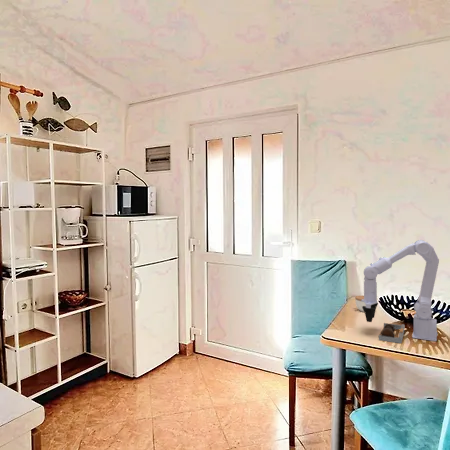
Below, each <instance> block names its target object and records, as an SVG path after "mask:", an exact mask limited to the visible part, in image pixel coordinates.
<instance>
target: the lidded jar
mask: <svg viewBox="0 0 450 450" xmlns="http://www.w3.org/2000/svg"><path fill="white" fill-rule="evenodd" d="M362 299H363V300H364V295H356V296H355V305H356V308H357V309H358V310H359V311H360V312H363V313H365V312H364V310H363V308H362V307H363V306H366V304H365V303H364V302H362V301H361V300H362Z"/></svg>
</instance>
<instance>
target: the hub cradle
mask: <svg viewBox="0 0 450 450" xmlns="http://www.w3.org/2000/svg"><path fill="white" fill-rule="evenodd" d="M386 324H390V323H386V322H384V323H383V328H384V327H385V325H386ZM391 324H392V325H393V326H394V328H395V330H398V329H400V330H399V331H398V337H397V336H396V337H395V336H394V337H391V336H384V335H381V334H378V341H383V342H389V343H395V344H396V343H397V344H403V343H402V342H403V338H404V334H405V330H404V329H405V324H403V323H402V324H395V323H391Z"/></svg>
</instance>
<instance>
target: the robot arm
mask: <svg viewBox="0 0 450 450" xmlns="http://www.w3.org/2000/svg"><path fill="white" fill-rule="evenodd" d="M434 248H435V247H433V246H432V245H431V244H430V243H429V242H428V241H425V240H423V239H420V240H419V239H418V240H416V241H415V242H412V243H410V244H408V245H405V246H404V247H403V248H401V249H400V250H398V251H396V252H395V253H393V254H392V255H390V256H388V257H385V256H384V257H379V258H378V259H377V260H376V261H375V262H374V263H370V264H369V265H368V266H366V267H365V268H364V270H363V276H364V278H363V296H364V300H363V299H362V300H361V301H362V302H364V303H365V304H366V306H363V307H362V308H363V310H364V312H363V313H364V315H365V320H366V322H367V323H372V321H373V319H374V318H375V315H376V310H377V307H378V305H379V303H378V288H377V287H378V286H377V285H378V284H377V283H378V282H377V276H378V275H382V274H383V273H384V272H386V271H389V270H390V269H392V267H393V264H395V263H396V262H398V261H399V260H401V259H403V258H405V257H407V256H409V255H410V256H416V253H417V254H418V255H420V256H421V257H422V258H423V260H424V261H425V267H424V272H423V277H422V281H421V286H420V291H419V296H418V297H417V301H416V302H415V303H414V305H413V310H414V311H415V313H414V315H413V332H412V337H411V338H412V339H418V340H425V341H432V342H437V339H438V338H437V337H438V332H437V330H438V329H437V328H438V327H437V326H438V324H437V323H438V322H437V321H438V320H437V319H436V318H432V315H433V310H432V297H433V291H434V286H435V283H436V278H437V273H438V268H439V264H440V259H439V258H438V255H437V253H436V251H435V249H434Z"/></svg>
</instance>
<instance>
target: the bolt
mask: <svg viewBox="0 0 450 450" xmlns="http://www.w3.org/2000/svg"><path fill="white" fill-rule="evenodd" d="M392 324H393V323H389V324H386V325H385V327H384V326H383V329H382V331H381V333H380V335H384V336H391V337H395V336H396V334H395V331H396V329H395V328H394V326H393V325H392Z"/></svg>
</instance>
